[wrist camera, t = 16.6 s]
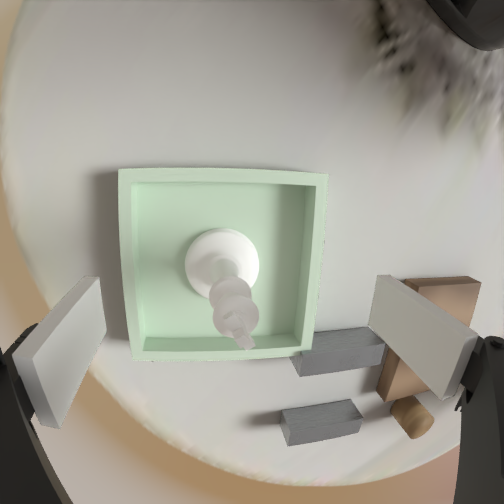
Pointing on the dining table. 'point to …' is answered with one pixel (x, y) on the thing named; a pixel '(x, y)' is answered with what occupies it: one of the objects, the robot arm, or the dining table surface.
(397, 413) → the cylinder
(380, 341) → the clamp jaws
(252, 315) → the chess piece
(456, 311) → the tan slab
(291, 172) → the tray
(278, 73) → the dining table surface
